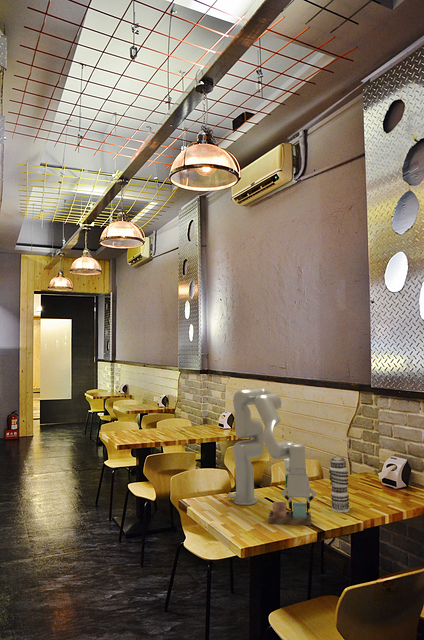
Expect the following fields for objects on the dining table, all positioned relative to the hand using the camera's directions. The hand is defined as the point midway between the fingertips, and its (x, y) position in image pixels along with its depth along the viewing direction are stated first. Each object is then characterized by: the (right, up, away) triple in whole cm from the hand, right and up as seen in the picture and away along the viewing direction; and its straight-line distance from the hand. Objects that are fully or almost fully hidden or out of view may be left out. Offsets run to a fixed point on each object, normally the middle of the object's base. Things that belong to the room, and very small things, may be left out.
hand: (299, 510), depth 216 cm
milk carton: (+6, -9, +47) cm, 48 cm away
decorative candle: (+23, -6, +15) cm, 28 cm away
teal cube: (0, -3, 0) cm, 3 cm away
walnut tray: (-4, -5, 0) cm, 7 cm away
